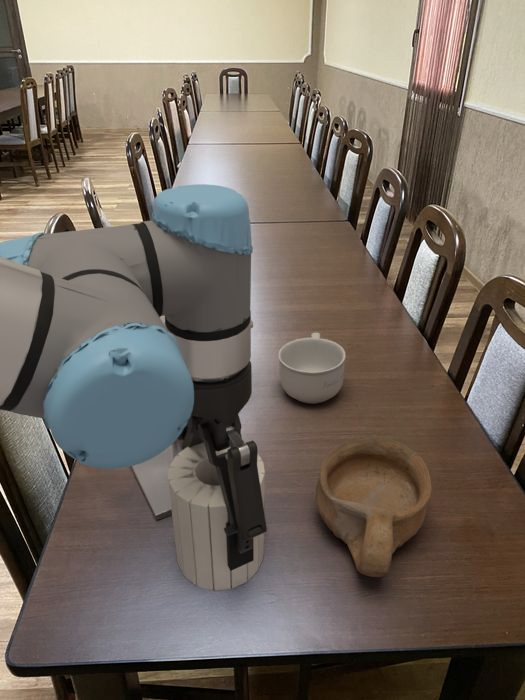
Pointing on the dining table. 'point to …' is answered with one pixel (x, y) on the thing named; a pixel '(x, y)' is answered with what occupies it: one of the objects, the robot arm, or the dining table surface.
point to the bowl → (373, 498)
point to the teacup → (312, 368)
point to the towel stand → (157, 480)
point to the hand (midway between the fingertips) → (219, 527)
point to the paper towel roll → (206, 521)
